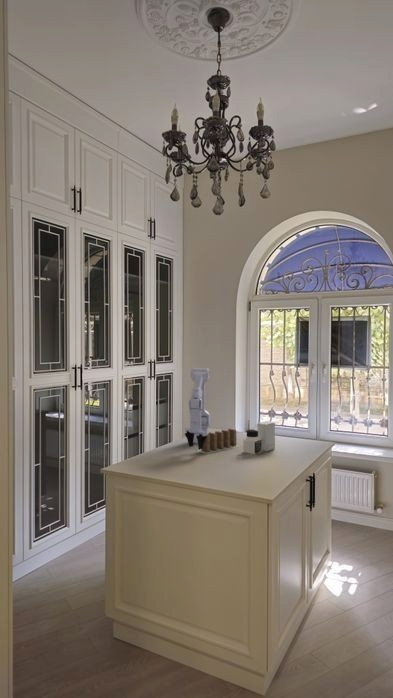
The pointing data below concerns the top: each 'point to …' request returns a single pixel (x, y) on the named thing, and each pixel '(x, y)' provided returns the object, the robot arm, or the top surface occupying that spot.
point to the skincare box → (267, 435)
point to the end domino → (206, 444)
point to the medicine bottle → (252, 442)
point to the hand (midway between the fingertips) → (195, 447)
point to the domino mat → (218, 449)
